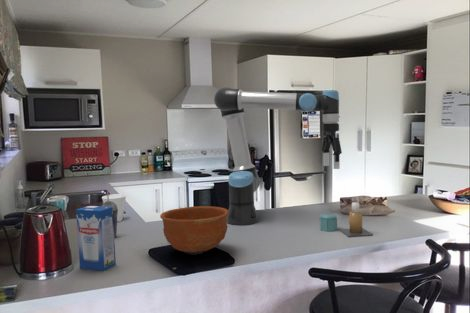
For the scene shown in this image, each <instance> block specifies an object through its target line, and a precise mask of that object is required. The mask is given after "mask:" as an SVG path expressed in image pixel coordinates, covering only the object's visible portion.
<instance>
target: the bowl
mask: <svg viewBox="0 0 470 313" xmlns="http://www.w3.org/2000/svg"><path fill="white" fill-rule="evenodd" d="M228 210H229V209H227V208H225V207H220V206H211V205H210V206H209V205H208V206H205V205H201V206H200V205H199V206H187V207H180V208H175V209H174V208H173V209H169V210H166V211H164V212H162V213H161V214H160V215H159V217H160V219H162V224H163V231H162V232H163V234H164V237H165V239H166V241H167V243H169V244H170V245H171V247H173V249H174V250H177V251H179V252H184V253H185V252H189V253H197V252H202V251H206V252H207V251H209V250H211V249H214V248H215V247H217V246H218V245H219V244H220V243H221V242H222V240H224V239H225V237H226V234H227V232H228V227H229V226H228V223H227V216H228V214H229V211H228Z"/></svg>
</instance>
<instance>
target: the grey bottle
mask: <svg viewBox="0 0 470 313" xmlns="http://www.w3.org/2000/svg"><path fill="white" fill-rule="evenodd" d="M106 195H107V199H108V201H107V202H105V203H104V204H103V203H102V205H101V206H102V207H112V209H113V226H114V239H116V238H117V233H118V232H117V231H118V229H117V226H118V224H117V223H118V222H117V214H118V209H117V206H116V204H115V203H114V202H111V201H109V196H108V195H109V190H107V191H106Z"/></svg>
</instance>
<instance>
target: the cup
mask: <svg viewBox="0 0 470 313" xmlns="http://www.w3.org/2000/svg"><path fill="white" fill-rule="evenodd" d="M108 196H109V201H111V202H114V203H115V204H116V206H117V209H118V214H117V223H118V222H121V221H123V218H124V211H125V204H126V198H127V195H126V194H124V193H123V194H121V193H119V194H117V193H114V194H108ZM101 200H102V205H103V204H104V203H105V202H107V201H108V199H107V194H106V195H103V196H102V197H101Z"/></svg>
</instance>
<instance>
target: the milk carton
mask: <svg viewBox="0 0 470 313" xmlns="http://www.w3.org/2000/svg"><path fill="white" fill-rule="evenodd" d="M75 213H76V215H75V216H76V228H77V243H78V245H77V246H78V257H79V268H80V269H84V270H92V271H101V272H105V271H107V270H108V269H110V268H113V267H115V266H116V265H117V263H116V262H117V260H116V247H115V246H116V245H115V238H114V226H113V209H112V207H102V205H101V206H99V205H98V206H97V205H87V206H83V207H81V208H77V209H75Z"/></svg>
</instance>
